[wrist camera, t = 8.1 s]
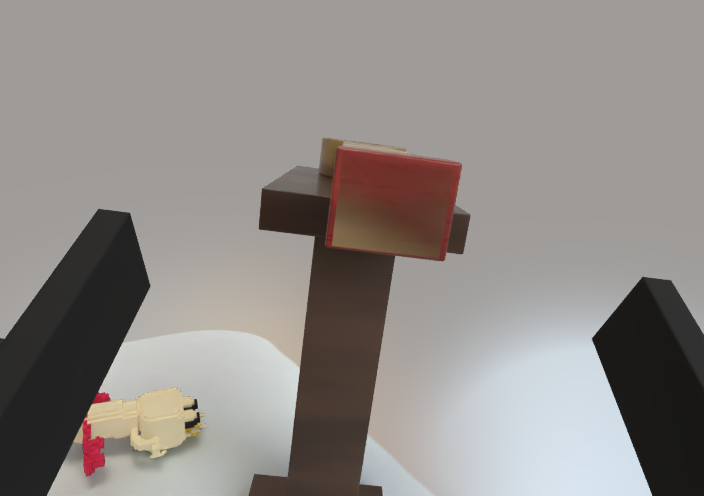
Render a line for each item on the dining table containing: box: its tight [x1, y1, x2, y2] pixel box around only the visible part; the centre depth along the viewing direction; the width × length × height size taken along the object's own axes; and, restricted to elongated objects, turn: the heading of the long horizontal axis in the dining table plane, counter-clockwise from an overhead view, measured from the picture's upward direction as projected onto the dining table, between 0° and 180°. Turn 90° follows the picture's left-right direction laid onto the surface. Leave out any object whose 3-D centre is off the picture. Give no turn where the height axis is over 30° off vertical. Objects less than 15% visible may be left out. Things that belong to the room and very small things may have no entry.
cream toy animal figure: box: [73, 387, 206, 477], centre depth 43 cm, size 10×9×25 cm
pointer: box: [319, 138, 462, 261], centre depth 24 cm, size 25×6×3 cm, turn 1°
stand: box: [249, 166, 470, 496], centre depth 33 cm, size 16×12×30 cm
